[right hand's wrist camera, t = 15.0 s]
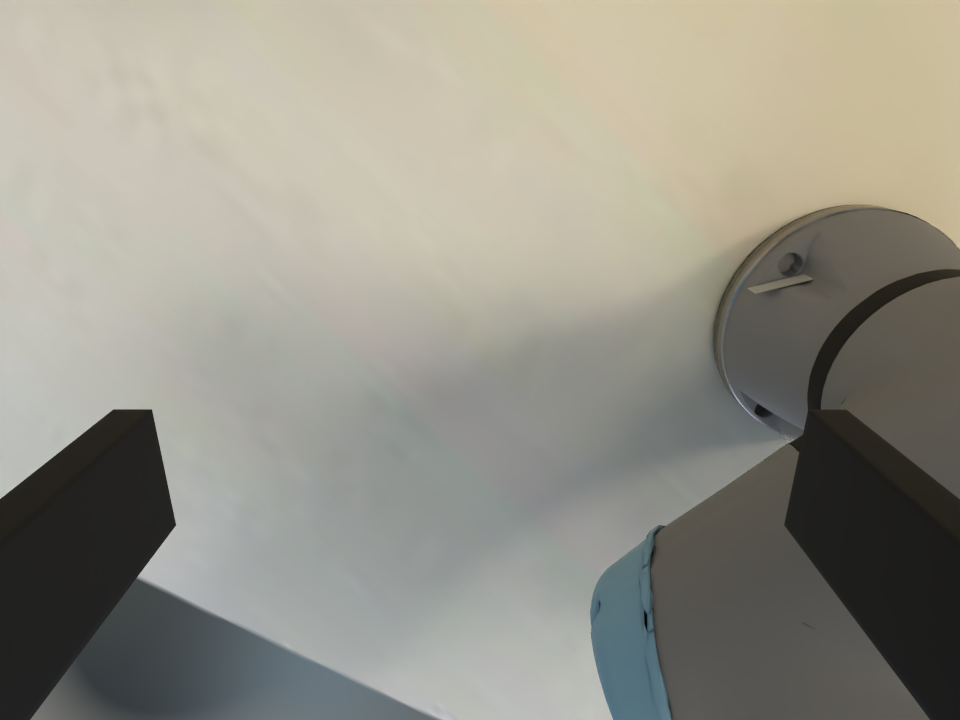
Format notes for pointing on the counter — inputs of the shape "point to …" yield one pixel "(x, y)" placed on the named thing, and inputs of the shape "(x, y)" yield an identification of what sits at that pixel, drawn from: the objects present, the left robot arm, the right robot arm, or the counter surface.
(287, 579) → the counter surface
